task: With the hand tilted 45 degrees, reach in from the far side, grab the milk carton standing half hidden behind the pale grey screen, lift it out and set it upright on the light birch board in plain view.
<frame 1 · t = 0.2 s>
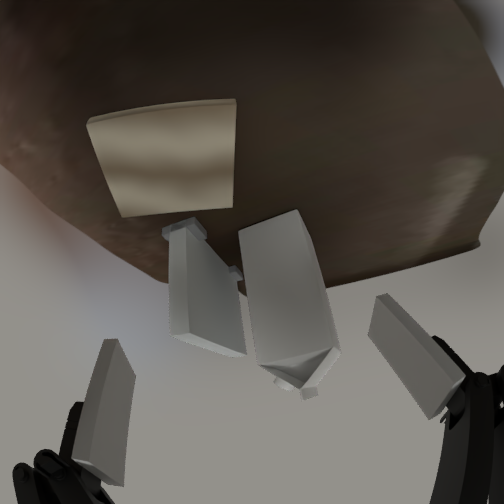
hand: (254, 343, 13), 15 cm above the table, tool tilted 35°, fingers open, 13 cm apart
milk carton: (276, 232, 33), on the table
birch board: (167, 161, 21), on the table
grey screen: (207, 254, 34), on the table
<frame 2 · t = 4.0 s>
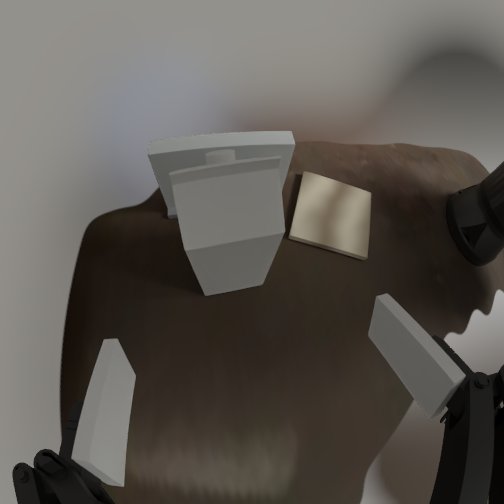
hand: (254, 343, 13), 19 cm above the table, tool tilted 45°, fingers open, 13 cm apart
milk carton: (228, 264, 34), on the table
birch board: (332, 215, 37), on the table
grey screen: (223, 200, 37), on the table
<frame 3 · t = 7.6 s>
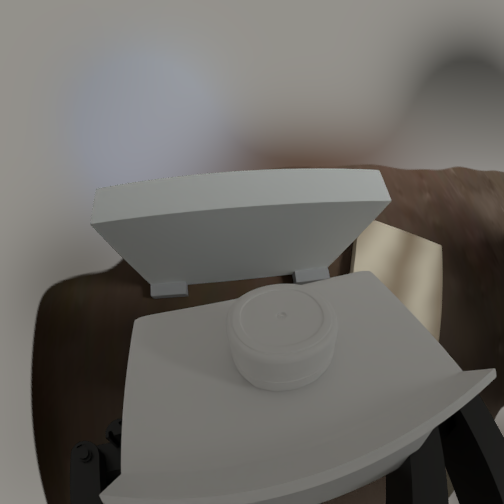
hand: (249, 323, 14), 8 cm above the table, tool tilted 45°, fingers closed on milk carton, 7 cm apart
milk carton: (250, 374, 20), on the table, touching gripper
birch board: (397, 283, 24), on the table
grey screen: (239, 268, 23), on the table
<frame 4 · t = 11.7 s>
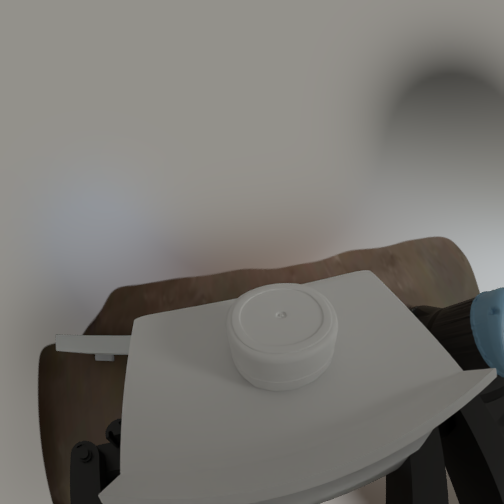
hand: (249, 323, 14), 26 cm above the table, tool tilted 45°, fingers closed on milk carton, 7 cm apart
milk carton: (250, 374, 20), point 18 cm above the table, touching gripper
grey screen: (139, 348, 37), on the table
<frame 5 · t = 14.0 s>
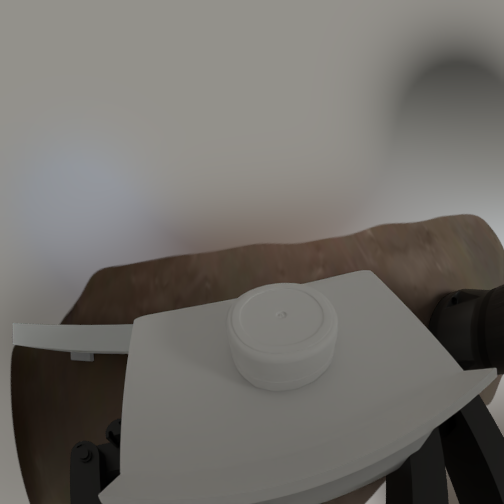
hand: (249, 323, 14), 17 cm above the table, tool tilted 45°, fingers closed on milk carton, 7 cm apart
milk carton: (250, 374, 20), point 8 cm above the table, touching gripper
grey screen: (124, 345, 28), on the table
when the fingers open (10 cm above the table, at t = 16.0 s): milk carton drops 1 cm, resting on birch board.
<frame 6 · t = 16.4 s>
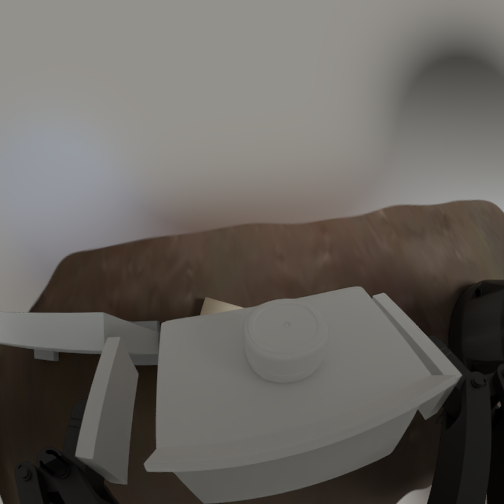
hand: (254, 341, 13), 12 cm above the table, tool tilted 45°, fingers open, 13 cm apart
milk carton: (253, 373, 22), point 1 cm above the table, touching birch board
birch board: (248, 372, 23), on the table
grey screen: (91, 343, 22), on the table
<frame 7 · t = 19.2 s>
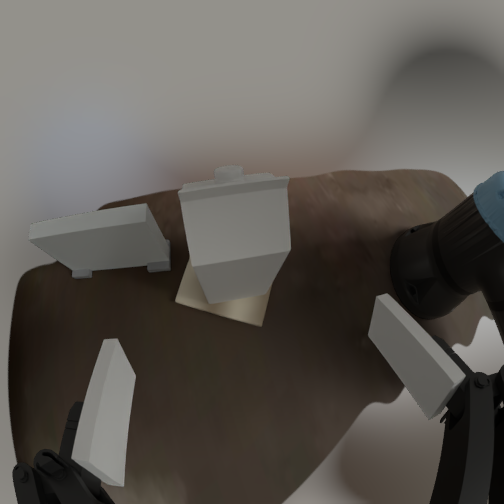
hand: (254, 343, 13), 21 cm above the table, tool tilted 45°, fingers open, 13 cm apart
milk carton: (232, 272, 34), point 1 cm above the table, touching birch board
birch board: (229, 274, 35), on the table
grey screen: (119, 261, 35), on the table
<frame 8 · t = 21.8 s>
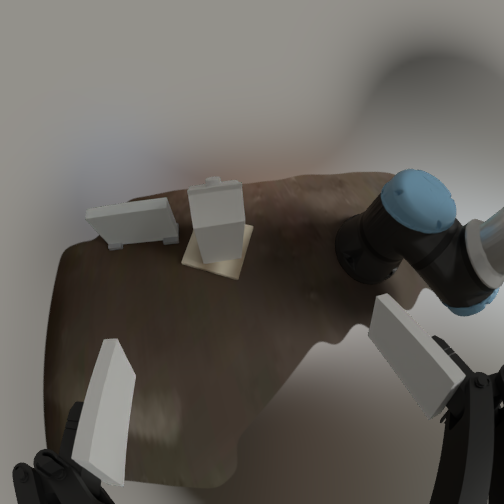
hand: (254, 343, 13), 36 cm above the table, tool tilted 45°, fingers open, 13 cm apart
milk carton: (219, 244, 52), point 1 cm above the table, touching birch board
birch board: (218, 245, 53), on the table
grey screen: (143, 237, 52), on the table
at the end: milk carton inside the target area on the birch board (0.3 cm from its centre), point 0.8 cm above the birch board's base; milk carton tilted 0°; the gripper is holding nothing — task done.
